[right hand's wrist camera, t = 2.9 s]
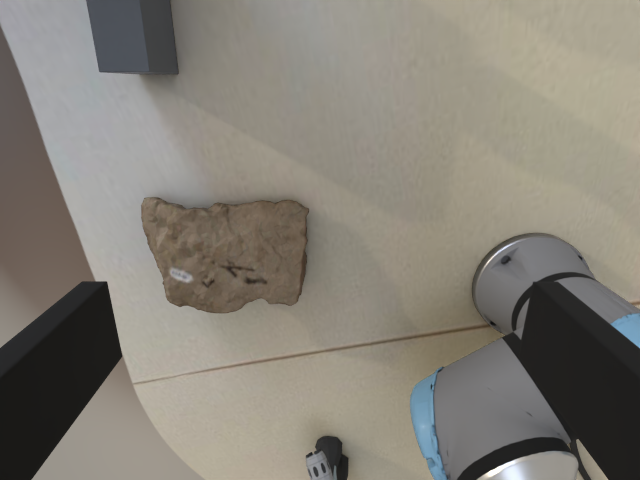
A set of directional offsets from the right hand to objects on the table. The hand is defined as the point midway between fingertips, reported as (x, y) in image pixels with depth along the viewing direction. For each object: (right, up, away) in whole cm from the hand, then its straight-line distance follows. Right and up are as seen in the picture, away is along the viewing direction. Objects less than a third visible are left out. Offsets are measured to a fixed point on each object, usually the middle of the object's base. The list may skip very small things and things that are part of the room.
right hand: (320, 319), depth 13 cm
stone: (-12, +2, +43) cm, 44 cm away
